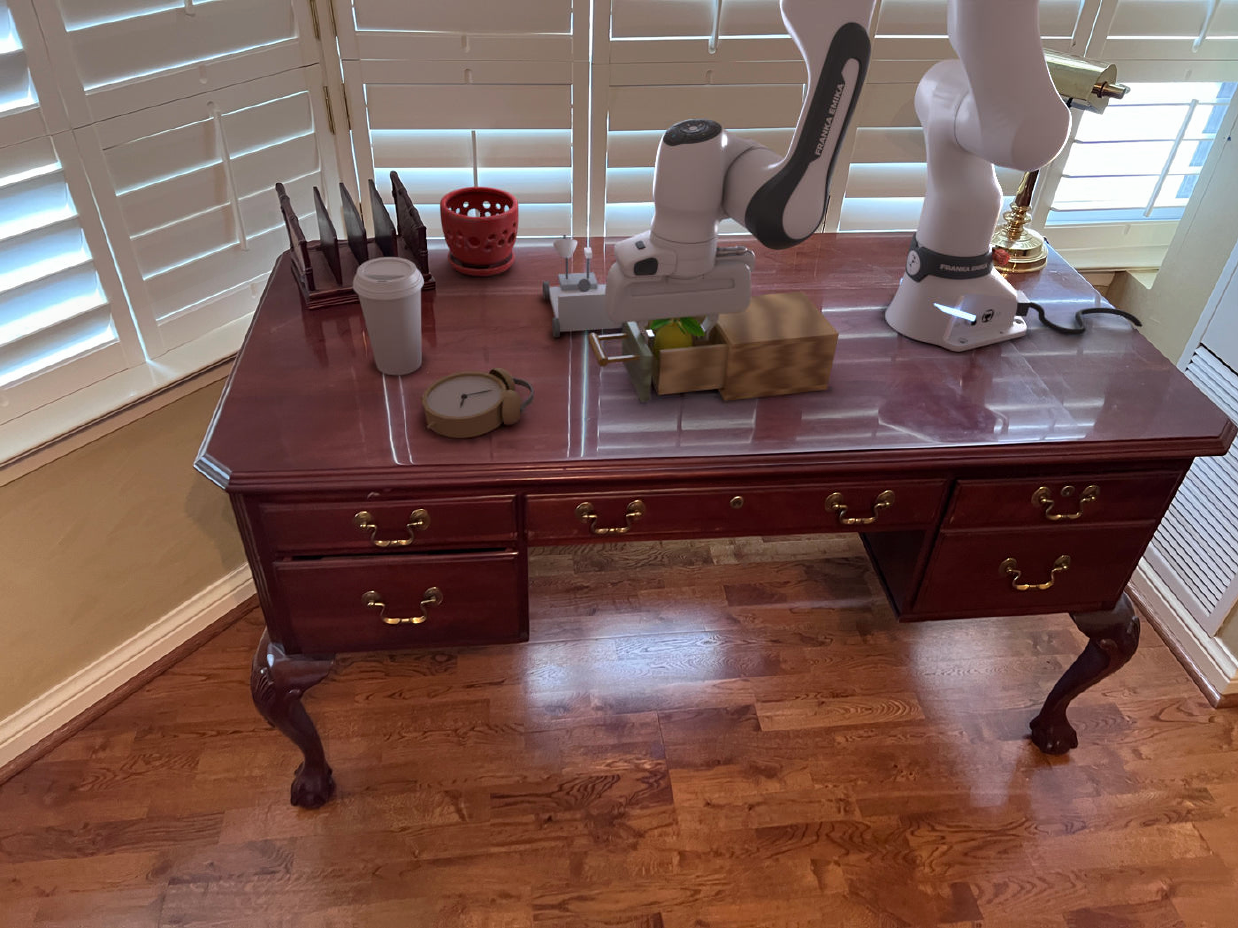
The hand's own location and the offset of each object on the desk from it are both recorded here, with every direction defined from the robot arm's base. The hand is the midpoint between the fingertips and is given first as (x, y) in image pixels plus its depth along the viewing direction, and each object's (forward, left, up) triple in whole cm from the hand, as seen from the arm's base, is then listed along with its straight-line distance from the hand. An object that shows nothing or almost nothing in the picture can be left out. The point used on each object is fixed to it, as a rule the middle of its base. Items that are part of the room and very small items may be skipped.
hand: (674, 341), depth 127 cm
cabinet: (-14, 0, -7) cm, 15 cm away
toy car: (+8, -23, -7) cm, 25 cm away
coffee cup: (+38, -12, -7) cm, 41 cm away
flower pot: (+22, -42, -7) cm, 48 cm away
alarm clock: (+28, +3, -7) cm, 29 cm away
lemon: (0, 0, -5) cm, 5 cm away
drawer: (+2, 0, -6) cm, 6 cm away
